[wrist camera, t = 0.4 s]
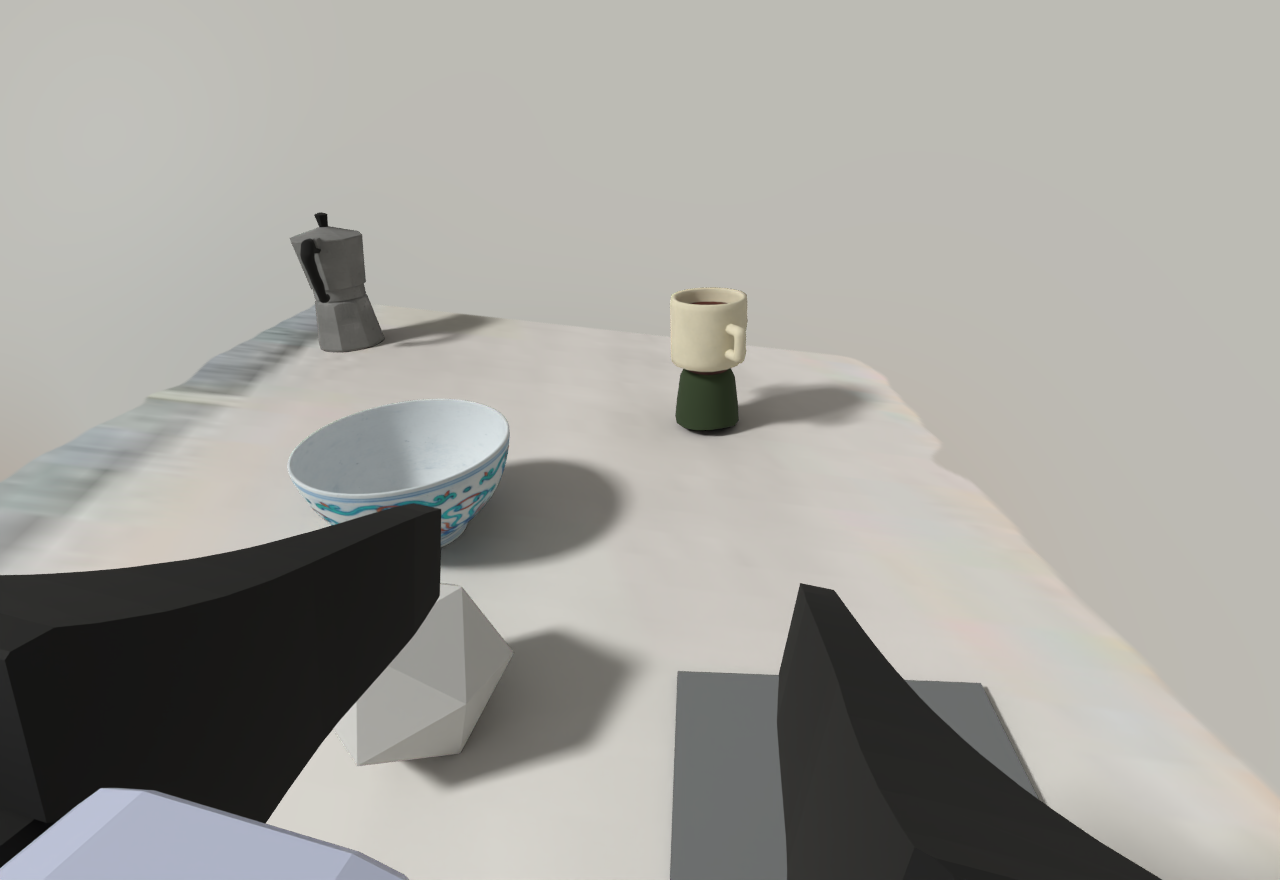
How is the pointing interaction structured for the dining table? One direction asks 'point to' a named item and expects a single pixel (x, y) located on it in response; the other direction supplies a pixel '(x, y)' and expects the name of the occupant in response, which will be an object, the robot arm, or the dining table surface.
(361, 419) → the chinaware
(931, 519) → the dining table surface
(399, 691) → the die
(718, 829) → the mat
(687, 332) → the character mug
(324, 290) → the coffeepot
